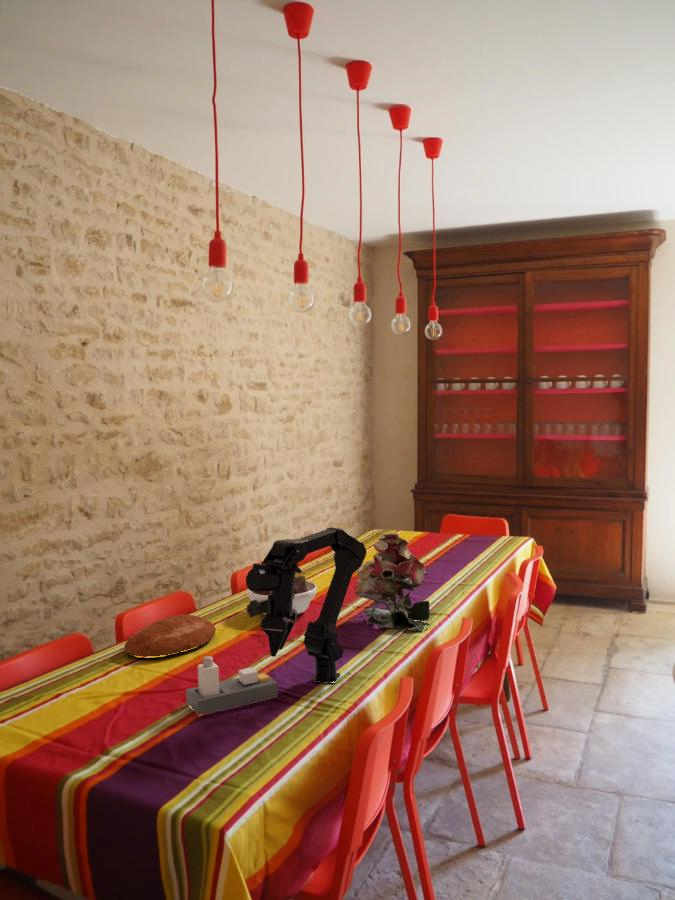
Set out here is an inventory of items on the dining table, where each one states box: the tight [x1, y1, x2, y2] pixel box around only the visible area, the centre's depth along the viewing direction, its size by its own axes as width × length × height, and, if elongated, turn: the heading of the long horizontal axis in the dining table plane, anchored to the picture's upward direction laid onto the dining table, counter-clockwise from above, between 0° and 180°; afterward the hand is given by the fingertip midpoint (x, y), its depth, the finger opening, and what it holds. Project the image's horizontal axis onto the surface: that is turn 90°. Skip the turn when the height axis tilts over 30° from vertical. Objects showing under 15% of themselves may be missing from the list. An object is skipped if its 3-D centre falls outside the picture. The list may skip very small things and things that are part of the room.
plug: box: [197, 655, 220, 698], centre depth 183 cm, size 4×4×12 cm
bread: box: [124, 614, 217, 656], centre depth 232 cm, size 23×32×9 cm
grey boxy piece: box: [185, 666, 279, 715], centre depth 186 cm, size 21×9×7 cm, turn 120°
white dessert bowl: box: [246, 575, 318, 616], centre depth 264 cm, size 25×25×15 cm
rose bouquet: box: [354, 533, 431, 632], centre depth 251 cm, size 26×29×30 cm
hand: (276, 652), depth 186 cm, fingers open, 9 cm apart
